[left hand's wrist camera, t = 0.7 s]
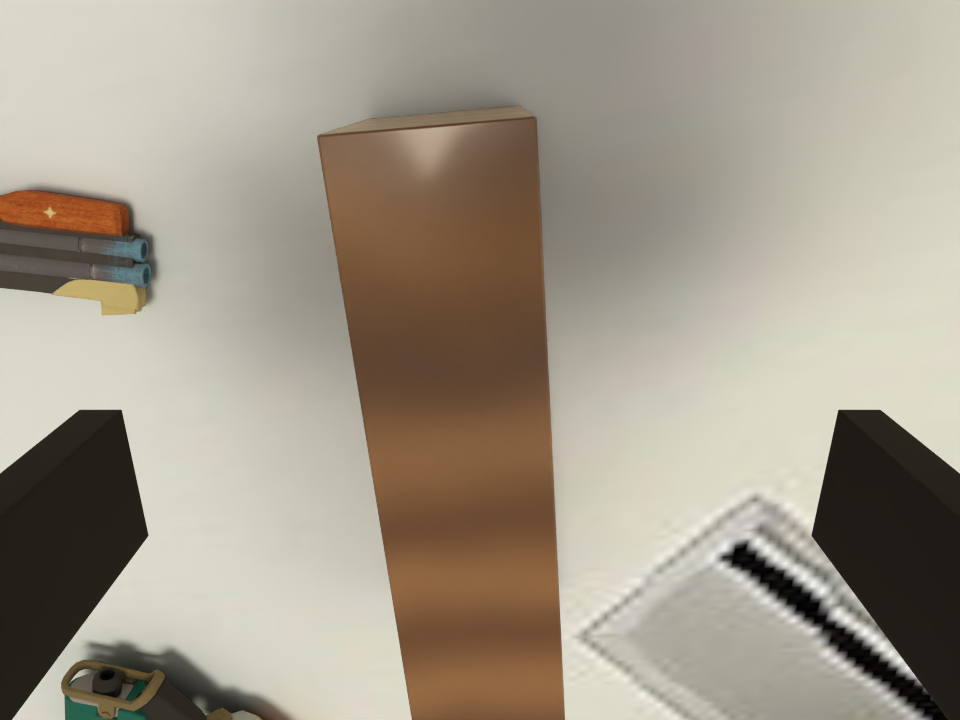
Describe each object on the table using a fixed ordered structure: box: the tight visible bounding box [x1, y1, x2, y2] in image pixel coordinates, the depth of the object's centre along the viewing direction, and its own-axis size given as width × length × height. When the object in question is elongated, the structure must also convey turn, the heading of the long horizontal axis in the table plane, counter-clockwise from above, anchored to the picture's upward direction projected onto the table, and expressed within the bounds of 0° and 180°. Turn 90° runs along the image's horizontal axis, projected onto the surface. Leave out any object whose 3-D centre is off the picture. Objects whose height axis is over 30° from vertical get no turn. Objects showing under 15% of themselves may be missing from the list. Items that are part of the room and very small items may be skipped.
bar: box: [317, 106, 565, 720], centre depth 26 cm, size 22×6×8 cm, turn 5°
